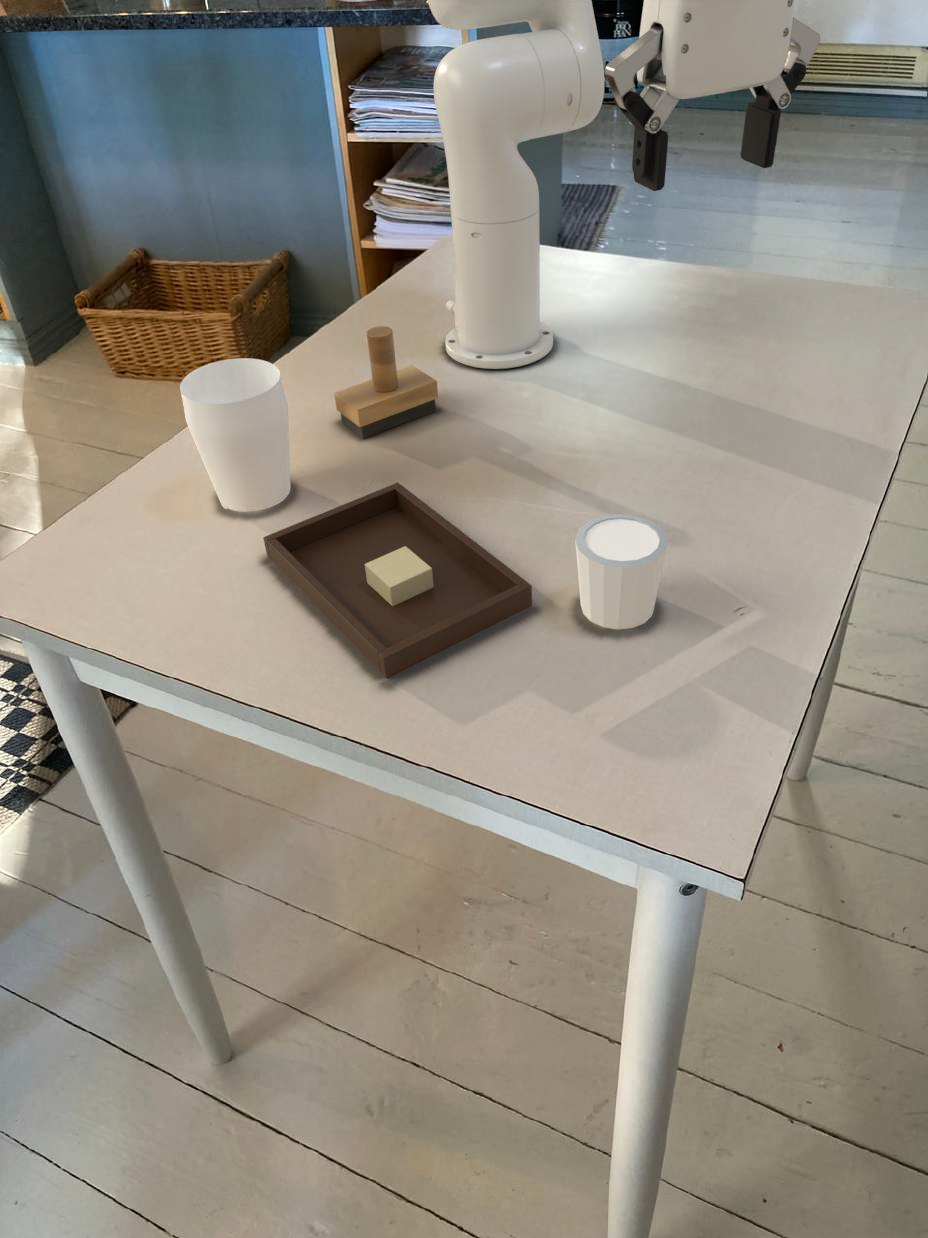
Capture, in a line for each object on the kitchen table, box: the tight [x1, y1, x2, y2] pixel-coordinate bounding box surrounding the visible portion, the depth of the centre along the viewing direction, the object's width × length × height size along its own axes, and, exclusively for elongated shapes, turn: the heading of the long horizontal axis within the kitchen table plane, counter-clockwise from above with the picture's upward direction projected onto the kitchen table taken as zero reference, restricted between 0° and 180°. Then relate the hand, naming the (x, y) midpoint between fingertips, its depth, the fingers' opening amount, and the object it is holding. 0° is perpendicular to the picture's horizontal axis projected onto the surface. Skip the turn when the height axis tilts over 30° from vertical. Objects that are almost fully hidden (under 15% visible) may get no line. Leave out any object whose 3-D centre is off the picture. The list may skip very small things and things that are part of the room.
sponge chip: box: [365, 546, 434, 606], centre depth 81 cm, size 4×4×2 cm
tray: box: [262, 482, 533, 680], centre depth 82 cm, size 20×14×3 cm
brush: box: [333, 325, 439, 440], centre depth 102 cm, size 5×10×10 cm, turn 125°
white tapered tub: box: [574, 513, 669, 630], centre depth 76 cm, size 7×7×7 cm
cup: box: [179, 357, 291, 513], centre depth 90 cm, size 9×9×12 cm
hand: (703, 174), depth 75 cm, fingers open, 9 cm apart
